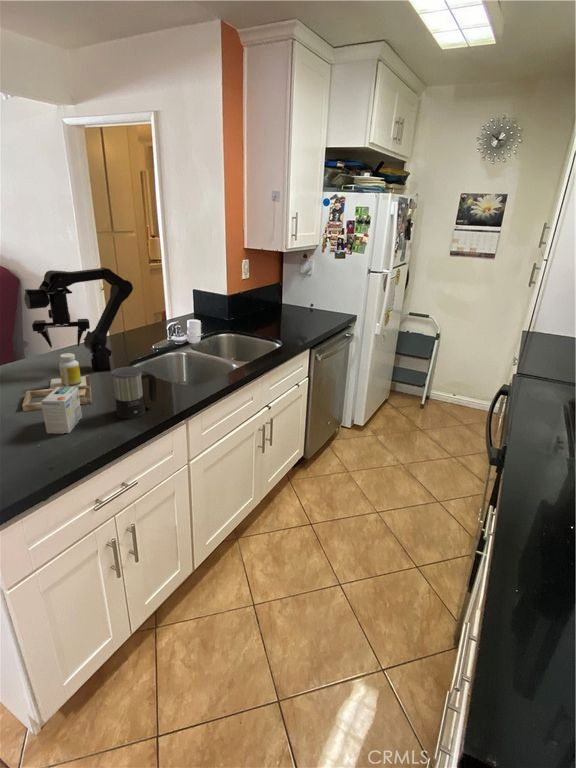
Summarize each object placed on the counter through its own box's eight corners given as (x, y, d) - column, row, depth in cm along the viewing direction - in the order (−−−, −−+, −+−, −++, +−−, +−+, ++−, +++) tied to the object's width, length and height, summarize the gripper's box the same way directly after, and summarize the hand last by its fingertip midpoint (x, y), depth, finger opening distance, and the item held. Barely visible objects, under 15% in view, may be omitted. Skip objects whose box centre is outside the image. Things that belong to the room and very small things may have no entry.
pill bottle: (85, 383, 155) (81, 354, 150) (71, 389, 149) (67, 359, 145) (72, 380, 157) (67, 351, 152) (57, 386, 151) (53, 356, 146)
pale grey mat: (89, 377, 162) (89, 375, 162) (89, 389, 151) (89, 388, 151) (51, 380, 157) (51, 379, 156) (49, 393, 146) (48, 392, 146)
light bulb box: (61, 417, 131) (56, 386, 127) (83, 417, 132) (78, 386, 127) (45, 433, 121) (39, 400, 117) (69, 434, 122) (64, 401, 118)
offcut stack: (87, 394, 148) (86, 387, 147) (87, 401, 143) (86, 394, 142) (64, 396, 145) (63, 389, 144) (64, 404, 140) (63, 397, 139)
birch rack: (91, 390, 151) (89, 374, 149) (91, 403, 141) (89, 387, 139) (27, 396, 143) (24, 380, 141) (23, 411, 133) (19, 394, 131)
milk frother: (127, 422, 131) (123, 378, 125) (97, 408, 138) (92, 366, 133) (162, 407, 142) (160, 366, 136) (132, 395, 149) (129, 356, 144)
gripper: (87, 301, 162) (91, 339, 168) (32, 302, 154) (39, 342, 160) (87, 307, 153) (92, 347, 159) (28, 308, 145) (36, 350, 151)
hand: (65, 346), depth 157 cm, fingers open, 9 cm apart
